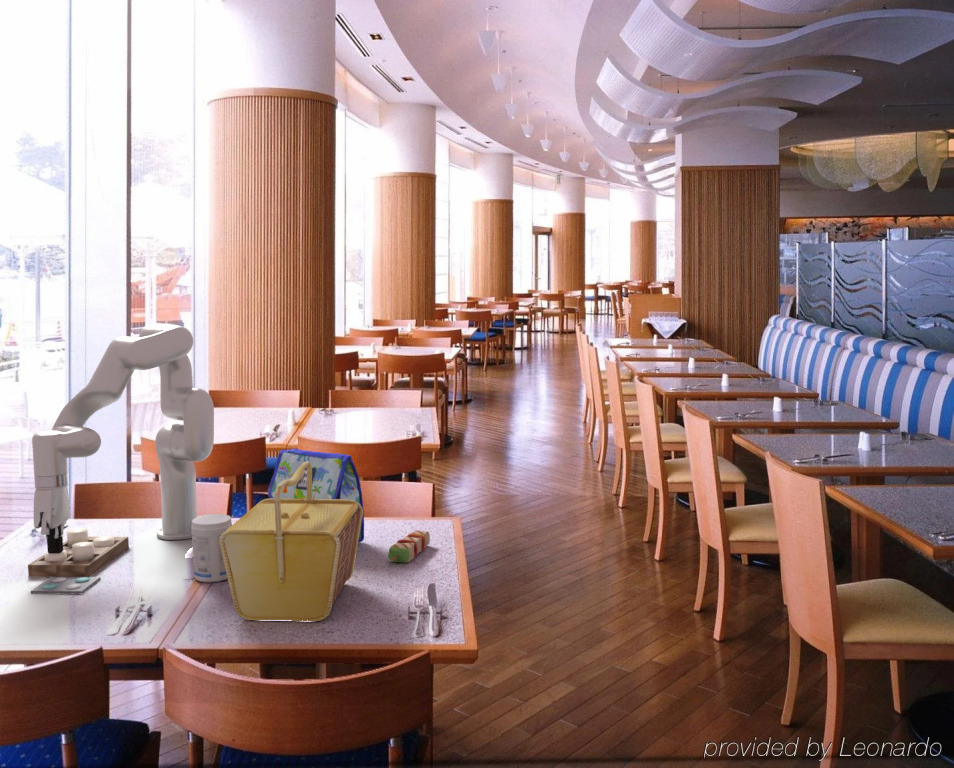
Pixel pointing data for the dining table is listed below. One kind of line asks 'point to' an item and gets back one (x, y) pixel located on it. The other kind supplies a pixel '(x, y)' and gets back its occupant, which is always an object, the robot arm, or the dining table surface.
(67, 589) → the tile
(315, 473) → the lunch bag
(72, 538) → the button
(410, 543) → the skewer
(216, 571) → the supplement tub
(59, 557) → the button
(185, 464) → the robot arm
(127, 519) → the dining table surface
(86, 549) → the button
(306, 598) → the picnic basket
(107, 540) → the button
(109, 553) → the button box
